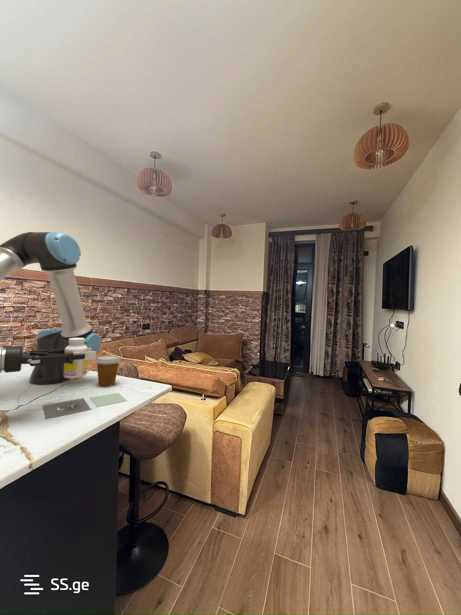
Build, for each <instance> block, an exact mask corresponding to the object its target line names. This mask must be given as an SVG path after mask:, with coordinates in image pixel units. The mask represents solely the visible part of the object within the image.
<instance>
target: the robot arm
mask: <svg viewBox="0 0 461 615" xmlns="http://www.w3.org/2000/svg"><path fill="white" fill-rule="evenodd" d="M81 251H82V250H81V248H80V245H79V244H78V242H77V240H76V239H75V238H74V237H72V236H71V235H69V234H68V233H65V232H59V231H58V232H57V231H43V232H42V231H41V232H40V231H39V232H37V231H27V232H24V233H20V234H17V235H15V236H14V237H11V238H9V239H8V240H5V241H4V242H3V243H1V244H0V282H1V281H2V280H4V279H5V278H7V277H8V276H9V275H10V274H11V273H13V272H14V271H15V270H17V271H18V270H19V271H20V270H22V269H23V268H25V267H26V266H28V265H32V264H39V267H40V270H41V271H42V272H44V273H46V274H47V277H48V279H49V284H50V286H51V290H52V293H53V297H54V301H55V303H56V308H57V311H58V314H59V317H60V321H61V324H62V327H63V328H62V327H61V328H50V329H48V328H47V329H41V330H39V331H38V333H37V338H36V350H35V349H31V350H30V351H29V352H23V346H21V345H16V346H15V345H14V346H7V347H5V348H4V346H0V374H1V373H2V371H4V373H6V374H8V373H15V372H17V373H18V372H21V370H22V365H29V366H31V367H33V370H32V372H31V374H30V377H29V382H30V383H31V384H32V385H33V384H34V385H52V384H59V383H62V382H67V381H68V380H70V379H71V380H72V378H65V377H64V363H70V364H73V361H82V360H87V361H91V360H92V361H93V360H94V361H95V360H97V357H96V356H97V354H98V352H99V351H100V349H101V346H102V337H101V335H100V334H98V333H96V332H94V330H93V327H92V325H90V324H88V323H87V319H86V316H85V315H86V314H85V311H84V308H83V303H82V298H81V296H80V291H79V288H78V284H77V280H76V275H75V270H76V268H77V267H78V266H77V263H78V262H79V261H80V259H81V258H80V257H81ZM70 338H85V342H84V345H85V346H87V348H88V352H75V353H73V354H72V353H70V354H65V348H66V347H67V346H69V339H70Z"/></svg>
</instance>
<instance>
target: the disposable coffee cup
mask: <svg viewBox="0 0 461 615" xmlns="http://www.w3.org/2000/svg"><path fill="white" fill-rule="evenodd" d="M120 361H121V359H120V357H119V356H118V355H102V356H101V355H100V356H98V357H96V359H95V362H96V366H97V380H98V386H99V387H102V388H108V387H112V385H113V386H114V385H115V384H116V378H117V375H118V374H117V373H118V369H119V363H120Z"/></svg>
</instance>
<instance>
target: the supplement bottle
mask: <svg viewBox="0 0 461 615" xmlns="http://www.w3.org/2000/svg"><path fill="white" fill-rule="evenodd" d="M84 342H85V338H70V339H69V346H67V347H66V348H65V354H70V353H72V354H73V353H75V352H88V348H87V346H85V345H84ZM87 372H88V360H82V361H73V364H70V363H64V377H65V378H71V379H79V378H83V377H85V376H86V375H87Z"/></svg>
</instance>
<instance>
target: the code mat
mask: <svg viewBox="0 0 461 615" xmlns="http://www.w3.org/2000/svg"><path fill="white" fill-rule="evenodd" d="M42 410H43V412H44V419H45V420H49V419H53V418H58V417H62V416H68V415H73V414H77V413H81V412H86V411H91V410H92V409H91V407H90V406H89V404H88V402H87V401H86V399H85V398H84V397H83V398H77V399H71V400H67V401H66V400H65V401H61V402H54V403H48V404H45V405H44V404H43V405H42Z"/></svg>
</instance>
